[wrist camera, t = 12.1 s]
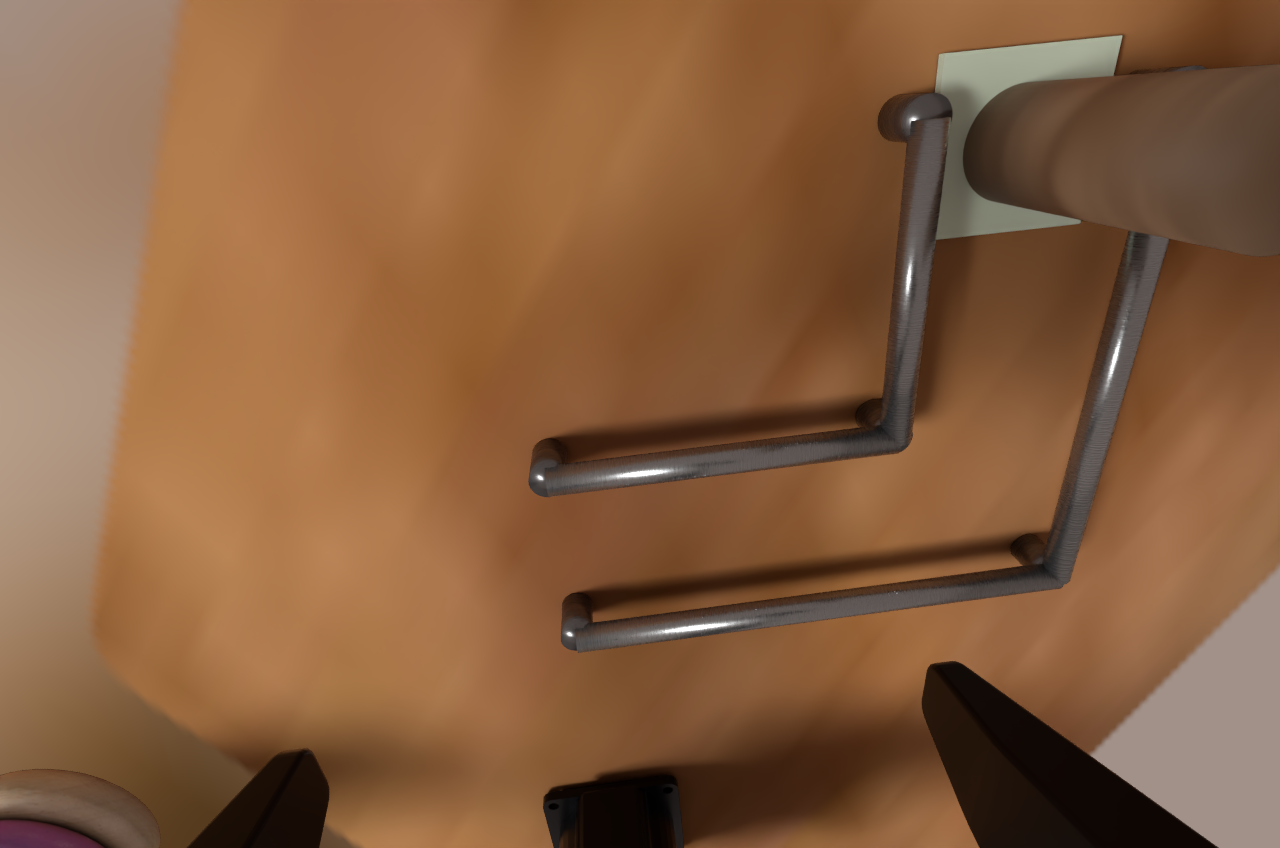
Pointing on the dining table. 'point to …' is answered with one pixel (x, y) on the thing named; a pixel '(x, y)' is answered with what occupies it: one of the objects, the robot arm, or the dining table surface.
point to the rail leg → (867, 441)
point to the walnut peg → (1141, 153)
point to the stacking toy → (71, 812)
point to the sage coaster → (971, 88)
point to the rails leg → (927, 143)
